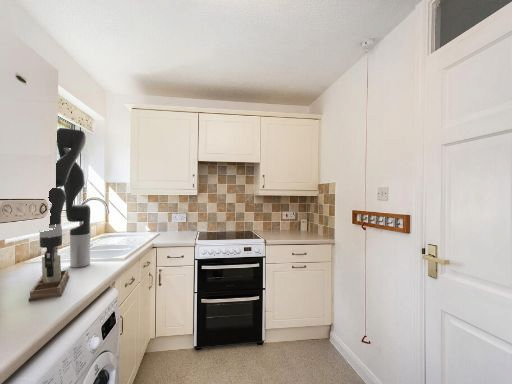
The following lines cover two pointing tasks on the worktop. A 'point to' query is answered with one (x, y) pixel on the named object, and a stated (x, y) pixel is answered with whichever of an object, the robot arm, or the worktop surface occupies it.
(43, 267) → the box
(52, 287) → the tray
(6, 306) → the worktop surface
